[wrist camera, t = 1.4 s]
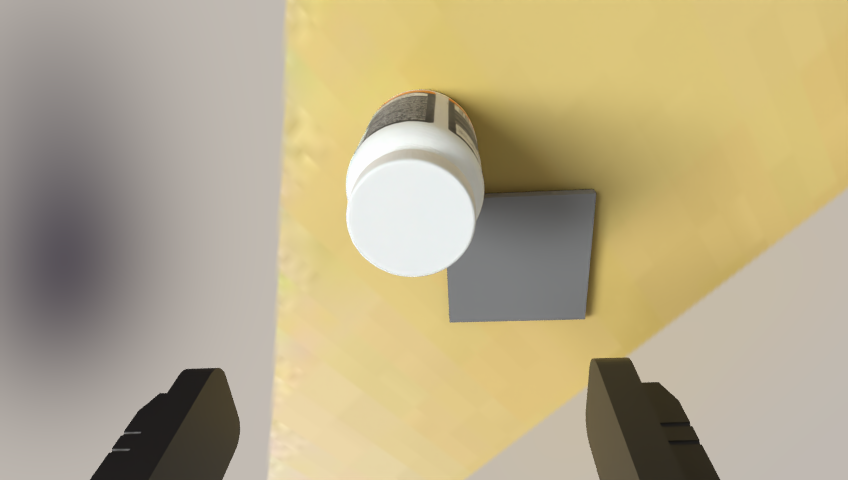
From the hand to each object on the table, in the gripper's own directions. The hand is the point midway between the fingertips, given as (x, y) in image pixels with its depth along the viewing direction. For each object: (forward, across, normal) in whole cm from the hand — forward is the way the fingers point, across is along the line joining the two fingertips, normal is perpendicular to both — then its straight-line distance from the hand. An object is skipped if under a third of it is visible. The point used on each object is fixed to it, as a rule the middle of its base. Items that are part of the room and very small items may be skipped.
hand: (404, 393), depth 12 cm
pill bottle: (+18, 0, 0) cm, 18 cm away
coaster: (+18, -4, +7) cm, 20 cm away
